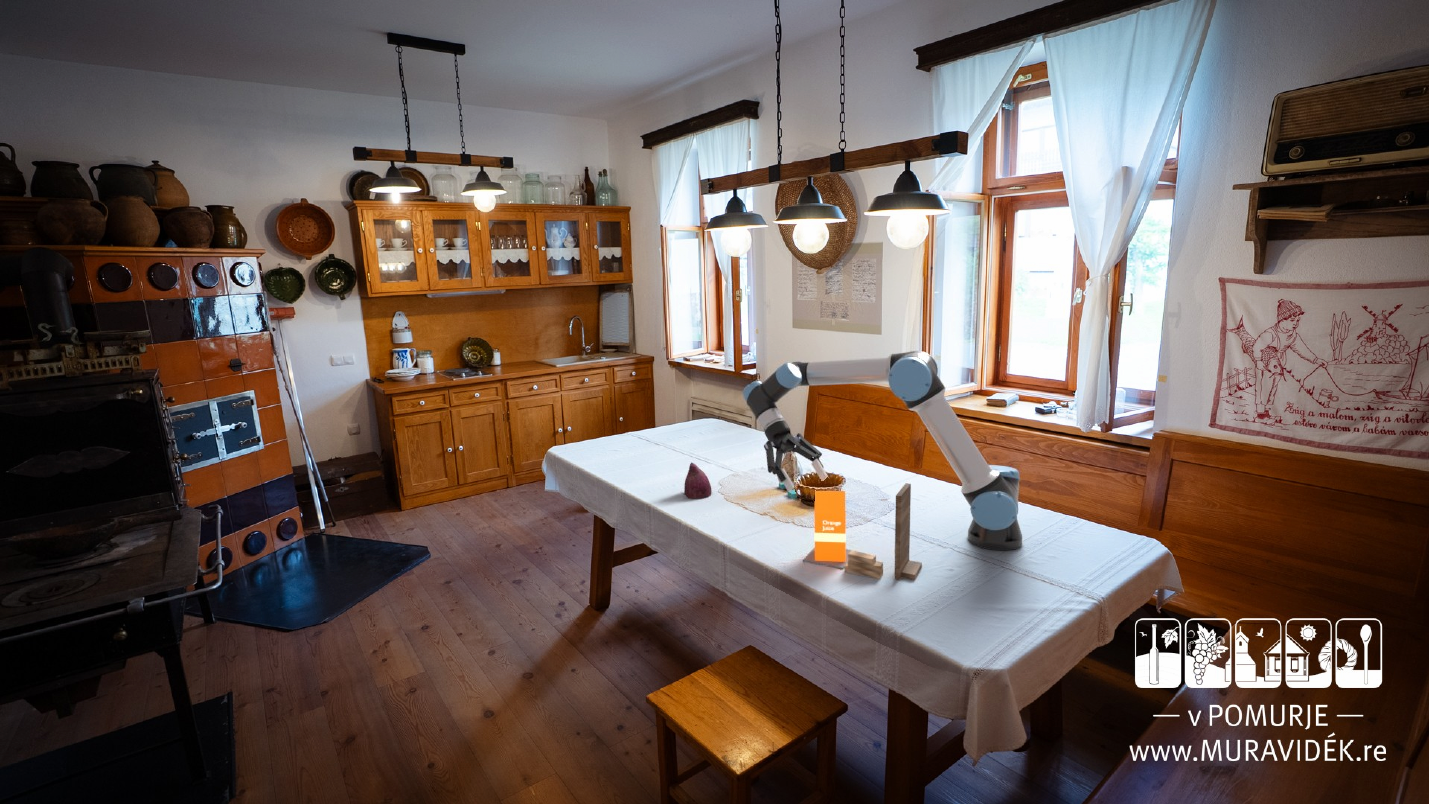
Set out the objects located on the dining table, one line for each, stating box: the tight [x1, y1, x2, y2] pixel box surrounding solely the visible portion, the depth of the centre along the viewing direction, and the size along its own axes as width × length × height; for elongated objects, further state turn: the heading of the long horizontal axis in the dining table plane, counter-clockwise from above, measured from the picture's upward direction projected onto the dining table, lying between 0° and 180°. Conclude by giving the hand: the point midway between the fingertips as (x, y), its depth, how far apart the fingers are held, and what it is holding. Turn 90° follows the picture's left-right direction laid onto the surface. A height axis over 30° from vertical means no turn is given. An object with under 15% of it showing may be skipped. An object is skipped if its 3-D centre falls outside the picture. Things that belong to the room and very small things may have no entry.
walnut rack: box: [843, 482, 923, 581], centre depth 183 cm, size 18×12×24 cm, turn 60°
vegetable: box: [683, 462, 713, 500], centre depth 248 cm, size 10×10×15 cm
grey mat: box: [802, 547, 852, 570], centre depth 195 cm, size 12×12×1 cm
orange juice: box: [814, 490, 847, 562], centre depth 193 cm, size 8×9×20 cm
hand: (808, 484), depth 197 cm, fingers open, 13 cm apart
